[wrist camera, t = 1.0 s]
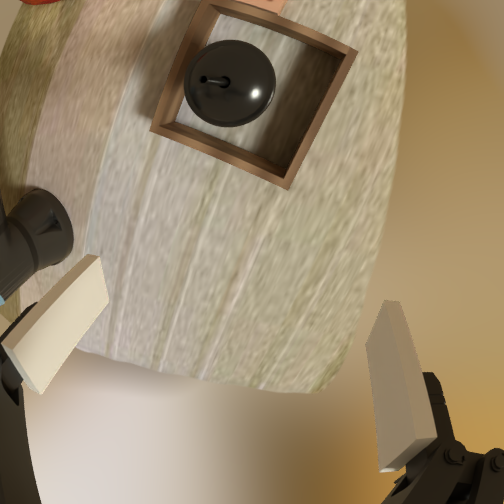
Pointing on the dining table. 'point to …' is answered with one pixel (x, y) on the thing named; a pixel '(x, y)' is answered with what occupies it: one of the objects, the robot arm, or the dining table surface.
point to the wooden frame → (165, 125)
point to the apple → (38, 1)
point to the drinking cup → (229, 83)
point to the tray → (265, 5)
